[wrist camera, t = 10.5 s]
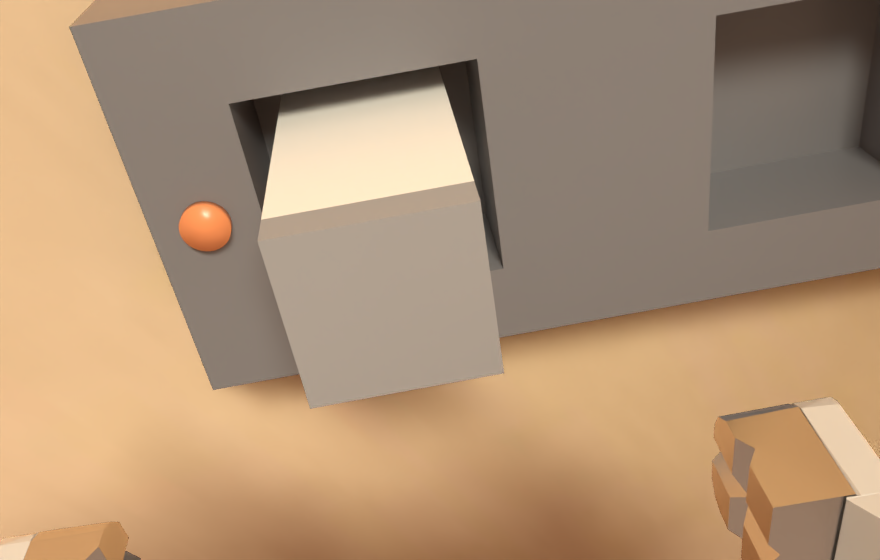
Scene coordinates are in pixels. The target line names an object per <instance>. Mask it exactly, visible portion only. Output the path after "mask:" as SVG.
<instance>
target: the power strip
mask: <svg viewBox="0 0 880 560" xmlns="http://www.w3.org/2000/svg"><path fill="white" fill-rule="evenodd" d="M70 30H71V33H72V35H73V38H74V40H75V43H76V45H77V48H78V50H79V53H80V55H81V58H82V60H83V63H84V65H85V68H86V70H87V73H88V75H89V78H90V80H91V83H92V86H93V88H94V91H95V93H96V96H97V98H98V101H99V103H100V106H101V108H102V111H103V113H104V116H105V118H106V121H107V123H108V126H109V128H110V131H111V133H112V136H113V138H114V141H115V144H116V146H117V149H118V151H119V154H120V156H121V159H122V161H123V164H124V166H125V169H126V171H127V174H128V176H129V179H130V181H131V184H132V186H133V189H134V191H135V194H136V197H137V199H138V202H139V204H140V207H141V209H142V212H143V214H144V217H145V219H146V222H147V224H148V227H149V229H150V232H151V234H152V237H153V239H154V242H155V244H156V247H157V250H158V252H159V255H160V257H161V260H162V262H163V265H164V267H165V270H166V272H167V275H168V277H169V280H170V282H171V285H172V287H173V290H174V292H175V295H176V297H177V300H178V302H179V305H180V308H181V310H182V313H183V315H184V318H185V320H186V323H187V325H188V328H189V330H190V333H191V335H192V338H193V340H194V343H195V345H196V348H197V350H198V353H199V355H200V358H201V361H202V363H203V366H204V368H205V371H206V373H207V376H208V378H209V381H210V383H211V386H212V388H213V390H216V389H221V388H227V387H232V386H237V385H243V384H248V383H254V382H259V381H265V380H270V379H276V378H281V377H287V376H292V375H298V374H299V371H298V368H297V365H296V362H295V359H294V355H293V352H292V349H291V346H290V343H289V340H288V336H287V333H286V330H285V327H284V324H283V321H282V317H281V314H280V311H279V308H278V305H277V302H276V298H275V295H274V292H273V289H272V286H271V283H270V279H269V276H268V273H267V270H266V267H265V264H264V260H263V257H262V254H261V251H260V248H259V245H258V235H259V229H260V223H261V217H262V211H263V205H264V199H265V193H266V186H267V180H268V174H269V168H270V162H271V156H272V150H273V144H274V138H275V132H276V126H277V120H278V114H279V108H280V102H281V96H282V94H285V93H291V92H297V91H302V90H308V89H313V88H319V87H324V86H330V85H335V84H341V83H346V82H352V81H357V80H363V79H368V78H374V77H380V76H385V75H391V74H396V73H402V72H407V71H413V70H418V69H424V68H429V67H435V66H438V67H439V70H440V73H441V77H442V80H443V83H444V86H445V89H446V93H447V96H448V99H449V102H450V105H451V109H452V112H453V115H454V118H455V121H456V124H457V128H458V131H459V134H460V137H461V140H462V144H463V147H464V150H465V153H466V156H467V160H468V163H469V166H470V169H471V172H472V176H473V179H474V182H475V185H476V188H477V191H478V195H479V198H480V201H481V209H482V216H483V223H484V230H485V238H486V245H487V252H488V260H489V267H490V274H491V281H492V289H493V296H494V303H495V311H496V318H497V325H498V332H499V338H500V337H506V336H511V335H517V334H522V333H528V332H533V331H539V330H544V329H550V328H555V327H561V326H566V325H572V324H577V323H583V322H588V321H594V320H599V319H605V318H610V317H615V316H621V315H626V314H632V313H637V312H643V311H648V310H654V309H659V308H665V307H670V306H676V305H681V304H687V303H692V302H698V301H703V300H709V299H714V298H720V297H725V296H730V295H736V294H741V293H747V292H752V291H758V290H763V289H769V288H774V287H780V286H785V285H791V284H796V283H802V282H807V281H813V280H818V279H824V278H829V277H835V276H840V275H846V274H851V273H856V272H862V271H867V270H873V269H878V268H880V0H95V1H94V2H93V3H92V4H91V5H90V6H89V7H88V8H87V9H86V10H85V11H84V12H83V13H82V14H81V15H80V16H79V17H78V18H77V20H76V21H75V22H74V23H73V24H72V25H71V26H70Z"/></svg>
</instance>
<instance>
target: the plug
mask: <svg viewBox="0 0 880 560" xmlns="http://www.w3.org/2000/svg"><path fill="white" fill-rule="evenodd" d="M258 245H259V248H260V251H261V254H262V257H263V260H264V264H265V267H266V270H267V273H268V276H269V279H270V283H271V286H272V289H273V292H274V295H275V298H276V302H277V305H278V308H279V311H280V314H281V317H282V321H283V324H284V327H285V330H286V333H287V336H288V340H289V343H290V346H291V349H292V352H293V355H294V359H295V362H296V365H297V368H298V371H299V374H300V378H301V381H302V384H303V387H304V390H305V393H306V397H307V400H308V403H309V406H310V409H311V408H317V407H322V406H327V405H333V404H338V403H344V402H349V401H355V400H360V399H366V398H371V397H377V396H382V395H388V394H393V393H399V392H404V391H410V390H415V389H420V388H426V387H431V386H437V385H442V384H448V383H453V382H459V381H464V380H470V379H475V378H481V377H486V376H492V375H497V374H502V373H504V369H503V362H502V354H501V347H500V340H499V332H498V325H497V318H496V311H495V303H494V296H493V289H492V281H491V274H490V267H489V260H488V252H487V245H486V238H485V230H484V223H483V216H482V209H481V201H480V198H479V195H478V191H477V188H476V185H475V182H474V179H473V176H472V172H471V169H470V166H469V163H468V160H467V156H466V153H465V150H464V147H463V144H462V140H461V137H460V134H459V131H458V128H457V124H456V121H455V118H454V115H453V112H452V109H451V105H450V102H449V99H448V96H447V93H446V89H445V86H444V83H443V80H442V77H441V73H440V70H439V67H438V66H435V67H429V68H424V69H418V70H413V71H407V72H402V73H396V74H391V75H385V76H380V77H374V78H368V79H363V80H357V81H352V82H346V83H341V84H335V85H330V86H324V87H319V88H313V89H308V90H302V91H297V92H291V93H285V94H282V96H281V102H280V108H279V114H278V120H277V126H276V132H275V138H274V144H273V150H272V156H271V162H270V168H269V174H268V180H267V186H266V193H265V199H264V205H263V211H262V217H261V223H260V229H259V235H258Z"/></svg>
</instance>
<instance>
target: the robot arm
mask: <svg viewBox="0 0 880 560" xmlns="http://www.w3.org/2000/svg"><path fill="white" fill-rule="evenodd" d="M714 439H715V441H716V443H717V445H718V447H719V449H720V453H719V454H718V455H717V456H716V457H715V458H714V459H713V461H712V481H713V487H714V492H715V498H716V501H717V504H718V507H719V510H720V513H721V515H722V517H723V520H724V522H725V524H726V526H727V529H728V530H730V531H731V532H733V533H734V534H736V535H737V536H739V537H740V538H742V550H741V558H742V560H880V458H879V457H878V456H877V454H876V453H875V452H874V450H873V449H872V447H871V446H870V445H869V443H868V442H867V441H866V439H865V438H864V437H863V435H862V434H861V432H860V431H859V430H858V428H857V427H856V426H855V424H854V423H853V421H852V420H851V419H850V417H849V416H848V415H847V413H846V412H845V411H844V409H843V408H842V406H841V405H840V404H839V402H838V401H836V400H835V399H833V398H831V397H826V398H820V399H815V400H809V401H803V402H798V403H793V404H791V405H790V404H785V405H780V406H774V407H769V408H763V409H758V410H752V411H747V412H741V413H736V414H730V415H725V416H719V417H718V418H717V420H716V422H715V427H714ZM128 539H129V537H128V535H127V534H126V532H125V531H124V529H123V527H122V526H121V524H120V523H119V522H105V523H98V524H91V525H84V526H77V527H70V528H63V529H57V530H50V531H43V532H39V533H33V534H26V535H19V536H13V537H6V538H3V539H2V540H1V541H0V560H141V558H139V557H137V556H135V555H133V554H131V553H129V552H127V551H125V550H126V547H127V543H128Z"/></svg>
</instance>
